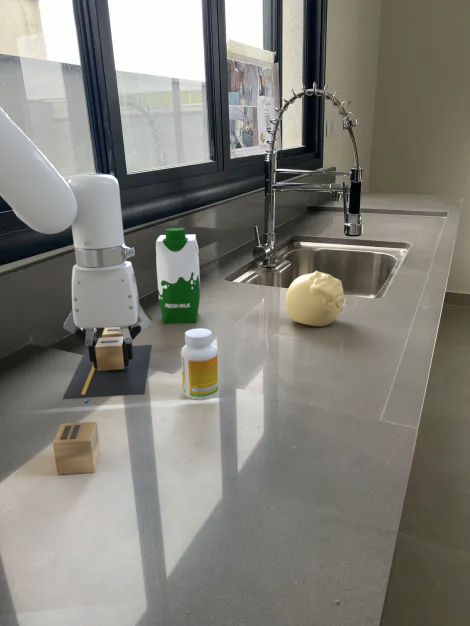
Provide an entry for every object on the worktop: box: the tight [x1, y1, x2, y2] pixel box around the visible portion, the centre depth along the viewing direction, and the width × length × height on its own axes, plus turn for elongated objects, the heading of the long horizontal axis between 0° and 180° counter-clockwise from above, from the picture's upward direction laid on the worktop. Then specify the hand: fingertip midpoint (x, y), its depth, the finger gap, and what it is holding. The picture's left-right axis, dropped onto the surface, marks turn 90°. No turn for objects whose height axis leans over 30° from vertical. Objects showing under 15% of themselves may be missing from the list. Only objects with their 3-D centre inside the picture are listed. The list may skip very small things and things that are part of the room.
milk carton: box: [155, 227, 201, 325], centre depth 105 cm, size 9×9×20 cm
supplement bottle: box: [180, 327, 220, 401], centre depth 74 cm, size 5×5×10 cm
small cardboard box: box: [101, 327, 123, 338], centre depth 90 cm, size 4×4×4 cm
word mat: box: [62, 344, 153, 400], centre depth 83 cm, size 12×20×1 cm, turn 6°
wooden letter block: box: [95, 337, 125, 371], centre depth 82 cm, size 4×4×4 cm
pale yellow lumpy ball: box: [285, 270, 345, 327], centre depth 103 cm, size 12×12×11 cm
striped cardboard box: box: [52, 421, 101, 476], centre depth 58 cm, size 4×4×4 cm
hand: (112, 363), depth 83 cm, fingers closed on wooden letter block, 4 cm apart
